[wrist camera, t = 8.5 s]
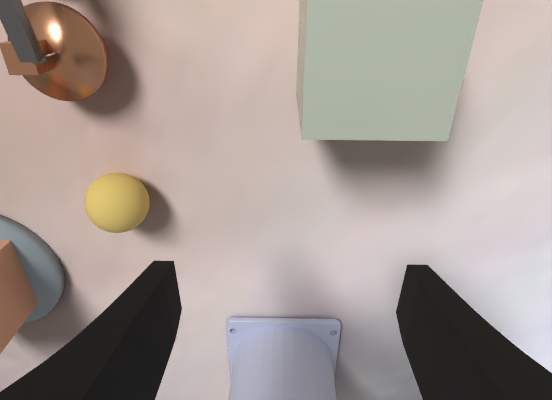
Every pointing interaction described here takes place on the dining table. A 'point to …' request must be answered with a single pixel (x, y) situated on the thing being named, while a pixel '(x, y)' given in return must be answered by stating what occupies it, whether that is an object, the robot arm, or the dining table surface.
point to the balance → (53, 49)
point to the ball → (116, 202)
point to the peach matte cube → (13, 294)
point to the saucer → (36, 266)
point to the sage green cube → (382, 67)
